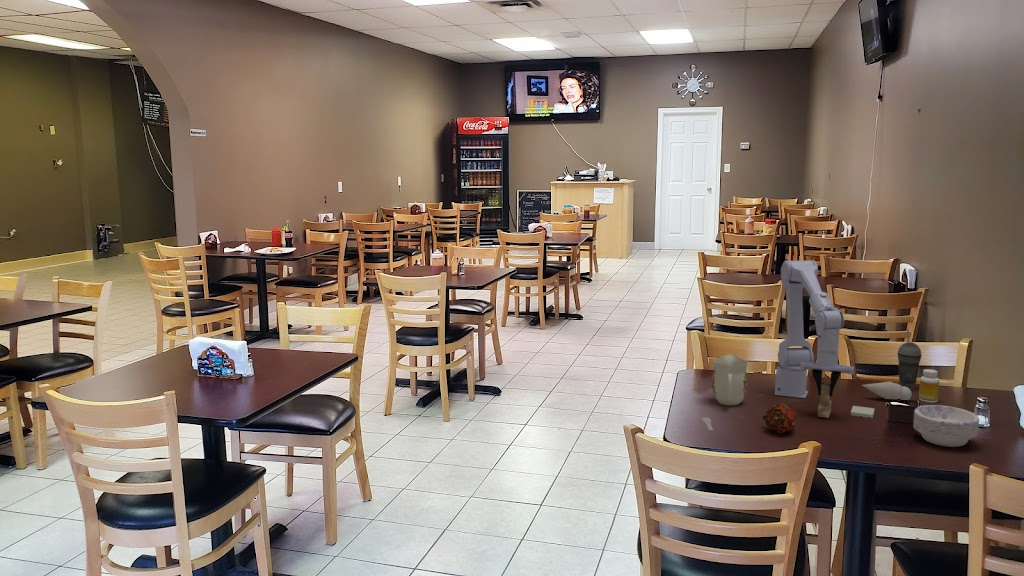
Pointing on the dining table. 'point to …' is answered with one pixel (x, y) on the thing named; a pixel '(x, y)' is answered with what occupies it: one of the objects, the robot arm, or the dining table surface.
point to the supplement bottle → (929, 386)
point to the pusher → (824, 401)
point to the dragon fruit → (780, 418)
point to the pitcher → (729, 379)
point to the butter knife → (707, 422)
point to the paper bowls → (945, 425)
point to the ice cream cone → (890, 390)
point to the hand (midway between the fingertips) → (825, 395)
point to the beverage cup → (908, 363)
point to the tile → (862, 411)
